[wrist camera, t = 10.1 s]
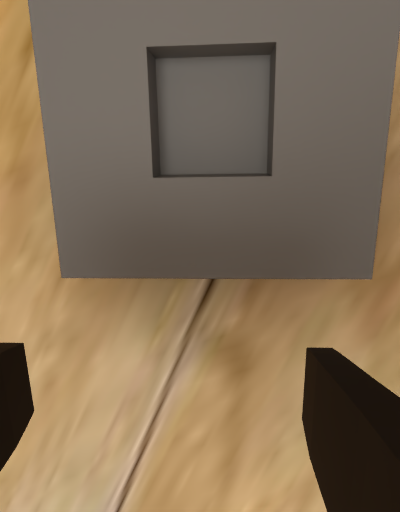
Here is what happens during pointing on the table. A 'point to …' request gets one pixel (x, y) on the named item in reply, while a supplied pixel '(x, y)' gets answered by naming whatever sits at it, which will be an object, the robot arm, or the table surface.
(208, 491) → the table surface
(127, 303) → the table surface
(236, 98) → the board
